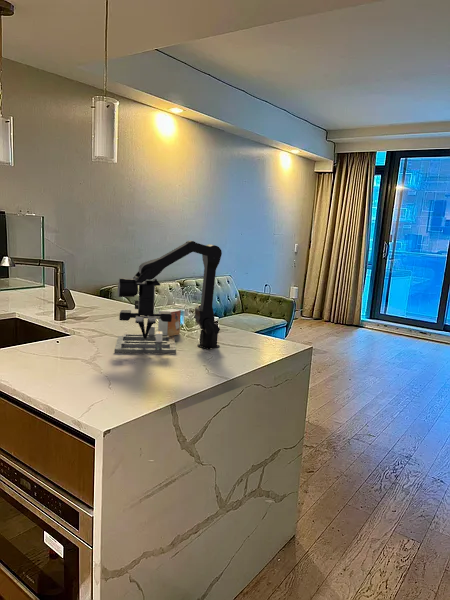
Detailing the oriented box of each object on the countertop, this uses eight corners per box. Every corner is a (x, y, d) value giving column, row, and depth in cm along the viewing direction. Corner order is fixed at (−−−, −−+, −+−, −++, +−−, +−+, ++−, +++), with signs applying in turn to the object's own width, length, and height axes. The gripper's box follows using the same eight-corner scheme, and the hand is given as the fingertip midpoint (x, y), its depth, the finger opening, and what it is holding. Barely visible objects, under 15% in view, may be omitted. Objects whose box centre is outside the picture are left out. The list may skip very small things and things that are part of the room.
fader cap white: (161, 344, 173) (162, 331, 172) (162, 346, 169) (162, 333, 168) (155, 344, 172) (155, 331, 171) (155, 346, 169) (155, 333, 168)
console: (173, 339, 186) (173, 333, 185) (175, 353, 167) (176, 346, 167) (118, 339, 182) (118, 332, 182) (114, 353, 164) (114, 346, 163)
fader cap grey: (154, 337, 182) (154, 324, 181) (154, 339, 179) (154, 326, 178) (148, 337, 181) (148, 324, 181) (148, 339, 178) (148, 326, 177)
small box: (167, 337, 189) (167, 312, 187) (157, 334, 192) (158, 310, 190) (180, 334, 195) (181, 310, 193) (170, 331, 198) (171, 308, 196)
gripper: (171, 294, 176) (169, 333, 179) (121, 292, 173) (120, 332, 176) (172, 299, 165) (170, 341, 168) (119, 297, 162) (118, 340, 165)
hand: (145, 338), depth 170 cm, fingers closed
